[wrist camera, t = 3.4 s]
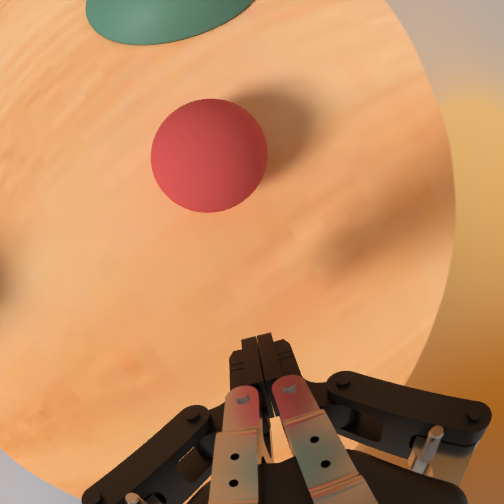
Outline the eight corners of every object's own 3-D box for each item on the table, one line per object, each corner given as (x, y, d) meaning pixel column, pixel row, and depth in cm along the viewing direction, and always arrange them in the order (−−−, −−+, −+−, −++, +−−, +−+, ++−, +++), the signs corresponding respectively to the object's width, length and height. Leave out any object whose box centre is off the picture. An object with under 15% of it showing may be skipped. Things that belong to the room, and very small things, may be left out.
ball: (155, 128, 16) (124, 107, 10) (248, 104, 16) (258, 70, 10) (177, 217, 18) (155, 236, 12) (269, 193, 18) (290, 201, 12)
